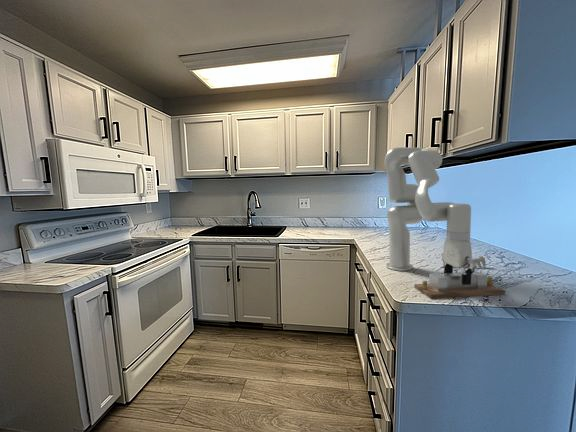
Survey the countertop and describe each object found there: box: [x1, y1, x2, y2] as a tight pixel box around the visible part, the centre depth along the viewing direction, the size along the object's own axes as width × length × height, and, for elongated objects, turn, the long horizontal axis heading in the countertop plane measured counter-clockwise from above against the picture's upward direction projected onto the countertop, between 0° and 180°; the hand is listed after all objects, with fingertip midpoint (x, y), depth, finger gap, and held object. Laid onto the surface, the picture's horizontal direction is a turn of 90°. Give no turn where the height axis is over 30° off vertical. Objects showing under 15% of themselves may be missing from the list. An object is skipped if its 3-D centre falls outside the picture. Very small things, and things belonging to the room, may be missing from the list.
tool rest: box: [413, 276, 506, 300], centre depth 100 cm, size 11×28×4 cm, turn 93°
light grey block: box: [428, 270, 488, 291], centre depth 100 cm, size 6×19×5 cm, turn 93°
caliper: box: [440, 254, 486, 269], centre depth 129 cm, size 20×1×6 cm, turn 83°
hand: (456, 279), depth 100 cm, fingers open, 9 cm apart
